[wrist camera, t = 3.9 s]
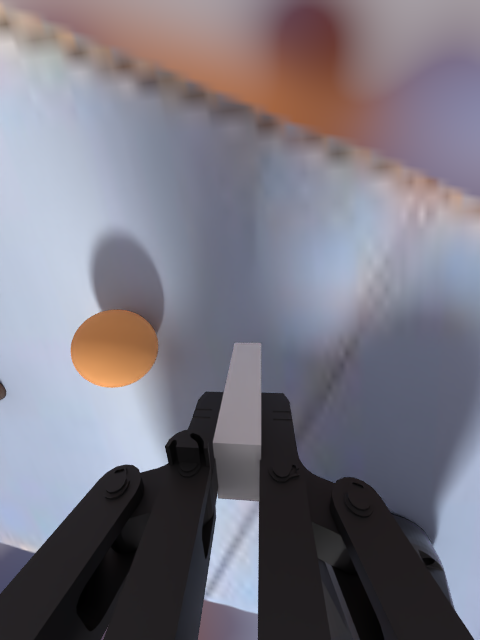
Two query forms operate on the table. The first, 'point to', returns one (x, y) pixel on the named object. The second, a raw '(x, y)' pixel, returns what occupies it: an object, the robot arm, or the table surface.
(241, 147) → the table surface
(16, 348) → the table surface
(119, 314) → the ball
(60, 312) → the table surface
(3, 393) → the post
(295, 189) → the table surface
